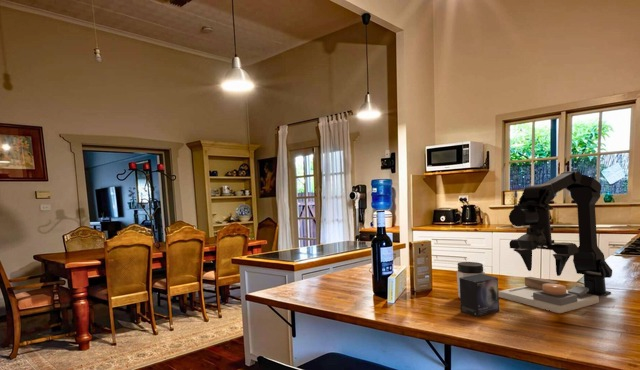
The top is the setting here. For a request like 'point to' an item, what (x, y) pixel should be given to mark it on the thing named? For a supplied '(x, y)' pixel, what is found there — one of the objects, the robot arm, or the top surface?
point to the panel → (548, 299)
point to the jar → (468, 271)
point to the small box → (479, 294)
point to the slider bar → (537, 282)
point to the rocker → (578, 290)
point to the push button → (554, 289)
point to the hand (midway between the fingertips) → (543, 273)
